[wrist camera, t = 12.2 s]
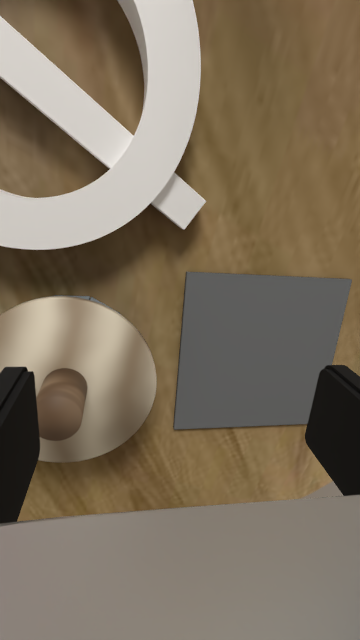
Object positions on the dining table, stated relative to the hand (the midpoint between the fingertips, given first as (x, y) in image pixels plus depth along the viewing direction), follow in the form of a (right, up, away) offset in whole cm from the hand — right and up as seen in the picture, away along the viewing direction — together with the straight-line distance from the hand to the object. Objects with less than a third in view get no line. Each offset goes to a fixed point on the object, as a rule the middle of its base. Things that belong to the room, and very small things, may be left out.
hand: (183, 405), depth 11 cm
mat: (+10, -2, +31) cm, 32 cm away
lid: (-11, -3, +21) cm, 24 cm away
